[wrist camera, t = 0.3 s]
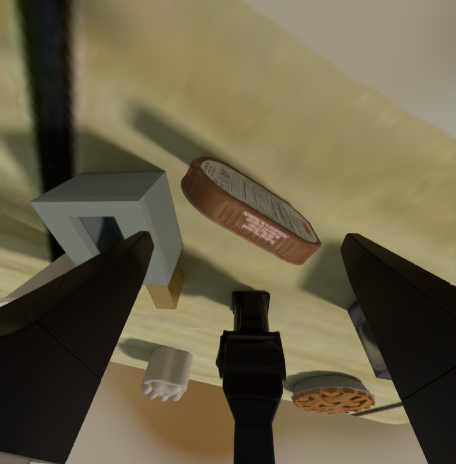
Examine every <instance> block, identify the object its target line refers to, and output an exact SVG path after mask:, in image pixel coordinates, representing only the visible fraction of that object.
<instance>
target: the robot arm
mask: <svg viewBox="0 0 456 464" xmlns="http://www.w3.org/2000/svg"><path fill="white" fill-rule="evenodd" d="M153 250H154V243H153V240H152V237H151V234H150V232H149V231H139V232H137V233H135V234H133V235H132V236H130V237H128V238H126V239H125V240H123V241H121V242H119V243H117V244H116V245H114V246H112V247H110V248H109V249H107V250H105V251H103V252H101V253H100V254H98V255H96V256H94V257H92V258H91V259H89V260H87V261H85V262H84V263H82V264H80V265H78V266H76V267H75V268H73V269H71V270H69V271H68V272H66V273H64V274H62V275H60V276H59V277H57V278H55V279H53V280H51V281H50V282H48V283H46V284H44V285H42V286H40V287H39V288H37V289H35V290H33V291H31V292H29V293H27V294H25V295H23V296H21V297H19V298H17V299H15V300H13V301H11V302H9V303H7V304H5V305H3V306H1V307H0V464H29V463H30V462H38V463H47V464H65V462H66V460H67V459H68V456H69V454H70V452H71V450H72V447H73V445H74V443H75V440H76V438H77V436H78V433H79V431H80V429H81V426H82V424H83V422H84V419H85V417H86V414H87V412H88V410H89V408H90V405H91V403H92V401H93V398H94V396H95V394H96V391H97V389H98V387H99V384H100V382H101V378H102V377H103V375H104V372H105V370H106V367H107V365H108V363H109V361H110V358H111V356H112V354H113V351H114V349H115V347H116V344H117V342H118V340H119V337H120V335H121V333H122V330H123V328H124V326H125V323H126V321H127V319H128V316H129V314H130V312H131V309H132V307H133V305H134V302H135V300H136V298H137V295H138V293H139V291H140V288H141V286H142V284H143V281H144V279H145V276H146V274H147V270H148V267H149V264H150V260H151V257H152V254H153ZM341 255H342V258H343V261H344V265H345V268H346V272H347V275H348V278H349V281H350V284H351V286H352V289H353V291H354V293H355V296H356V298H357V300H358V303H359V305H360V307H361V309H362V312H363V314H364V316H365V319H366V321H367V323H368V326H369V328H370V330H371V333H372V335H373V337H374V339H375V342H376V344H377V346H378V349H379V351H380V353H381V356H382V358H383V360H384V363H385V365H386V367H387V369H388V372H389V374H390V376H391V379H392V381H393V383H394V386H395V388H396V390H397V393H398V395H399V397H400V399H401V401H402V405H403V407H404V409H405V411H406V414H407V416H408V418H409V421H410V423H411V425H412V427H413V430H414V432H415V435H416V437H417V439H418V441H419V444H420V446H421V448H422V451H423V453H424V455H425V457H426V460H427V462H428V464H456V286H454V285H451V284H450V283H449V282H447V281H445V280H443V279H441V278H439V277H438V276H436V275H434V274H432V273H430V272H428V271H426V270H425V269H423V268H421V267H419V266H417V265H415V264H414V263H412V262H410V261H408V260H406V259H404V258H402V257H401V256H399V255H397V254H395V253H393V252H391V251H389V250H388V249H386V248H384V247H382V246H380V245H378V244H377V243H375V242H373V241H371V240H369V239H367V238H365V237H364V236H362V235H360V234H358V233H348V234H347V235H346V236H345V239H344V241H343V244H342V246H341ZM269 302H270V294H269V293H252V292H233V293H232V305H233V314H234V330H233V331H227V330H224V331H223V335H222V336H221V337H220V346H219V351H218V355H217V358H216V366H217V367H218V368H219V376H220V379H223V391H224V394H225V396H226V399H227V402H228V405H229V407H230V410H231V412H232V415H233V418H234V420H235V432H234V433H235V435H234V464H275V458H274V446H273V432H272V424H273V421H274V418H275V415H276V412H277V410H278V407H279V404H280V401H281V397H282V394H283V385H282V382H286V367H285V359H284V353H283V348H282V343H281V338H280V333H279V331H276V332H269V324H268V309H269Z"/></svg>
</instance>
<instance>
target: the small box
mask: <svg viewBox="0 0 456 464" xmlns="http://www.w3.org/2000/svg"><path fill="white" fill-rule="evenodd" d="M347 311H348V313H349V315H350V318H351V320H352V322H353V325H354V327H355V329H356V331H357V334H358V336H359V338H360V341H361V343H362V345H363V348H364V350H365V352H366V355H367V357H368V359H369V362H370V364H371V366H372V369H373V371H374V373H375V376H376V378H381V379H387V380H392V379H391V376H390V374H389V372H388V369H387V367H386V365H385V363H384V360H383V358H382V356H381V353H380V351H379V349H378V346H377V344H376V342H375V339H374V337H373V335H372V333H371V330H370V328H369V326H368V323H367V321H366V319H365V316H364V314H363V312H362V309H361V307H360V305H359V303H358V300H357V301H356V302H355V303H354V304H353V305H352V306H351V307H350V308H349V309H348V310H347Z"/></svg>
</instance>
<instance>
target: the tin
mask: <svg viewBox="0 0 456 464" xmlns="http://www.w3.org/2000/svg"><path fill="white" fill-rule="evenodd" d="M181 188H182V191H183V193H184V195H185V197H186V198H187V199H188V201H189V202H190V203H191V204H192V205H193V206H194V207H195V208H196V209H197V210H198V211H199V212H200V213H202V214H203V215H204V216H205V217H207V218H208V219H210V220H211V221H213V222H215V223H217V224H218V225H220V226H222V227H224V228H226V229H227V230H229V231H231V232H233V233H235V234H236V235H238V236H240V237H242V238H244V239H246V240H248V241H249V242H251V243H253V244H255V245H257V246H258V247H260V248H262V249H264V250H266V251H267V252H269V253H271V254H273V255H275V256H276V257H278V258H280V259H282V260H284V261H286V262H288V263H291V264H295V265H301V264H304V263H305V262H306V260H307V259H308V258H309V257H310V256H311V255H312V254H314V253H315V252H316V251H317V250H318V249H319V248H320V246H321V242H320V240H319V238H318V237H317V235H316V233H315V232H314V230H313V228H312V226H311V225H310V223H309V222H308V221H307V220H306V219H305V218H304V217H303V216H302V215H301V214H300V213H299V212H298V211H297V210H295V209H294V208H293V207H292V206H290V205H289V204H288V203H286V202H285V201H283V200H282V199H280V198H279V197H277V196H276V195H274V194H273V193H271V192H270V191H268V190H267V189H265V188H264V187H262V186H261V185H259V184H258V183H256V182H254V181H253V180H251V179H250V178H248V177H247V176H245V175H244V174H242V173H240V172H239V171H237V170H236V169H234V168H232V167H231V166H229V165H227V164H225V163H223V162H221V161H219V160H217V159H214V158H211V157H205V156H202V157H199V158H197V159H195V160H194V161H193V162H192V164H191V165H190V167H189V169H188V172H187V174H186V175H185V176H184V177H183V179H182V180H181Z"/></svg>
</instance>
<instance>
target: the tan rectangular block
mask: <svg viewBox="0 0 456 464" xmlns="http://www.w3.org/2000/svg"><path fill="white" fill-rule="evenodd" d="M183 284H184V282H183V279H182V275H181V271H180V268H179V264H178V261H177V264H176V266H175V269H174V271H173V274H172V277H171V279H170V282H169V285H146V287H147V289H148V291H149V293H150V295H151V297H152V300H153V302H154V304H155V306H156V308H157V309H176V307H177V303H178V300H179V297H180V294H181V290H182V287H183Z"/></svg>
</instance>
